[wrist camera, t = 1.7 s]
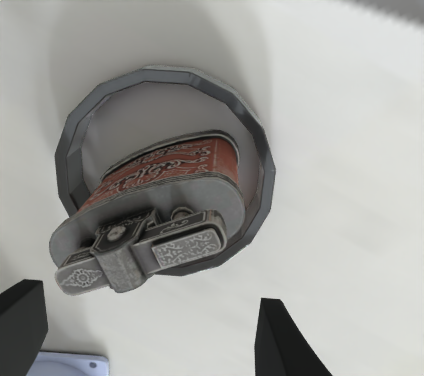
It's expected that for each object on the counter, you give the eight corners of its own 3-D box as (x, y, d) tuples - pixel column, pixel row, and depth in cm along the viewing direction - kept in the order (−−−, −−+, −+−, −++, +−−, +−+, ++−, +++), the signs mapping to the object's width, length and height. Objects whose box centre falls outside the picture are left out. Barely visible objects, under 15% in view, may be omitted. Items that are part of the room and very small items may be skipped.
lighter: (119, 216, 23) (47, 339, 14) (93, 165, 22) (-4, 262, 13) (247, 173, 22) (262, 277, 13) (227, 117, 21) (228, 186, 11)
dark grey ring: (78, 248, 24) (64, 268, 22) (63, 59, 20) (45, 62, 18) (258, 261, 24) (261, 282, 22) (281, 73, 20) (288, 78, 18)
